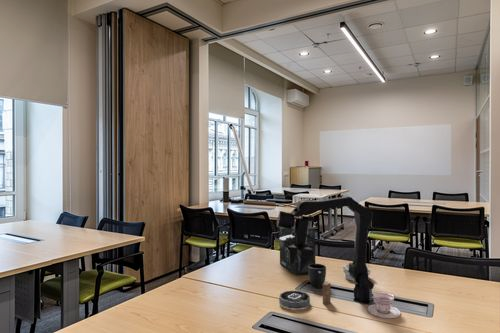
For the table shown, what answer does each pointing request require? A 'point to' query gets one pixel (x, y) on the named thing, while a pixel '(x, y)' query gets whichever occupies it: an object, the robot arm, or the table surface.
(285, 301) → the tin
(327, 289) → the tan wooden plank
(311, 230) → the headset box
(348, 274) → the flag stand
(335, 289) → the table surface
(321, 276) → the mug
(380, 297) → the teacup
